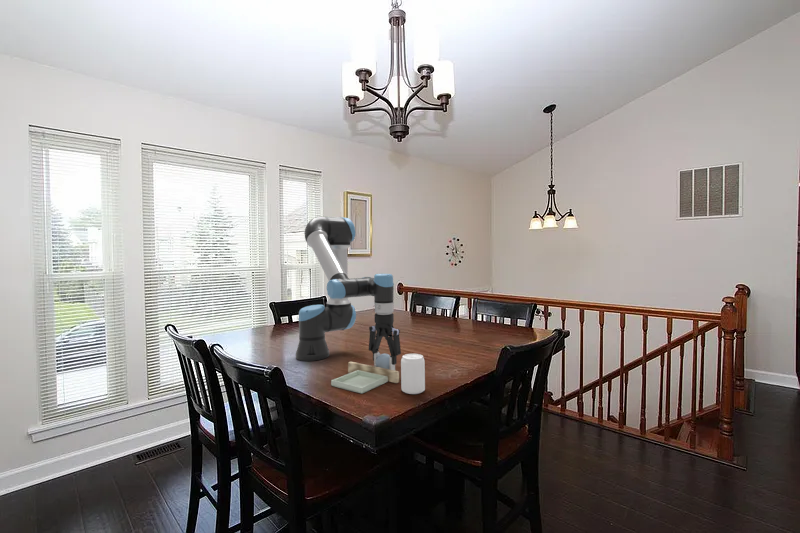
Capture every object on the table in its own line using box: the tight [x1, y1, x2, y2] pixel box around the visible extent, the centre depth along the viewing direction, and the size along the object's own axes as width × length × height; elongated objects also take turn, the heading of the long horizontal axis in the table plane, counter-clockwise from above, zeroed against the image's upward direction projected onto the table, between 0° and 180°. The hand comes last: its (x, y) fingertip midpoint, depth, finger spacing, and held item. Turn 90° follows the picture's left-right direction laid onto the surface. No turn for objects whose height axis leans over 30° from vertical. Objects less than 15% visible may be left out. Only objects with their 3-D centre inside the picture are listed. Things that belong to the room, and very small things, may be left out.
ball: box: [376, 353, 391, 369], centre depth 153 cm, size 7×7×7 cm
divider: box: [347, 360, 400, 384], centre depth 148 cm, size 24×2×4 cm, turn 55°
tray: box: [330, 370, 389, 395], centre depth 141 cm, size 14×14×2 cm
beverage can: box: [400, 353, 426, 395], centre depth 133 cm, size 8×8×12 cm
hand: (384, 370), depth 153 cm, fingers closed on ball, 7 cm apart
